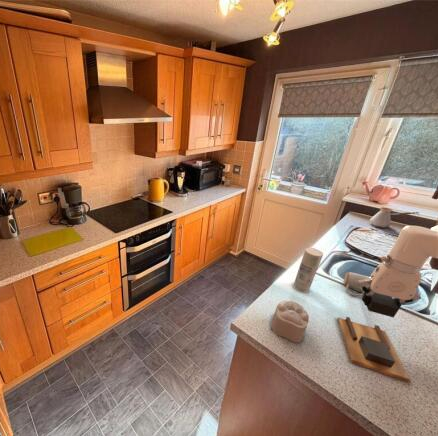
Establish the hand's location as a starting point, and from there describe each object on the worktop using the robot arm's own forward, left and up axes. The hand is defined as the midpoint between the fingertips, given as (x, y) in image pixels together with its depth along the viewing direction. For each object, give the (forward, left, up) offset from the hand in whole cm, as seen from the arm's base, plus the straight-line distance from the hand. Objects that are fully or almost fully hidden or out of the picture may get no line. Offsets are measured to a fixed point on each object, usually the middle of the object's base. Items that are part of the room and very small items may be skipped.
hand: (378, 306), depth 80 cm
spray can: (+18, -19, -14) cm, 29 cm away
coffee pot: (-45, -118, -14) cm, 127 cm away
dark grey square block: (0, 0, -1) cm, 1 cm away
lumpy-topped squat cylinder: (+25, +8, -14) cm, 30 cm away
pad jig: (0, +6, -14) cm, 15 cm away
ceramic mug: (-4, -28, -14) cm, 31 cm away
